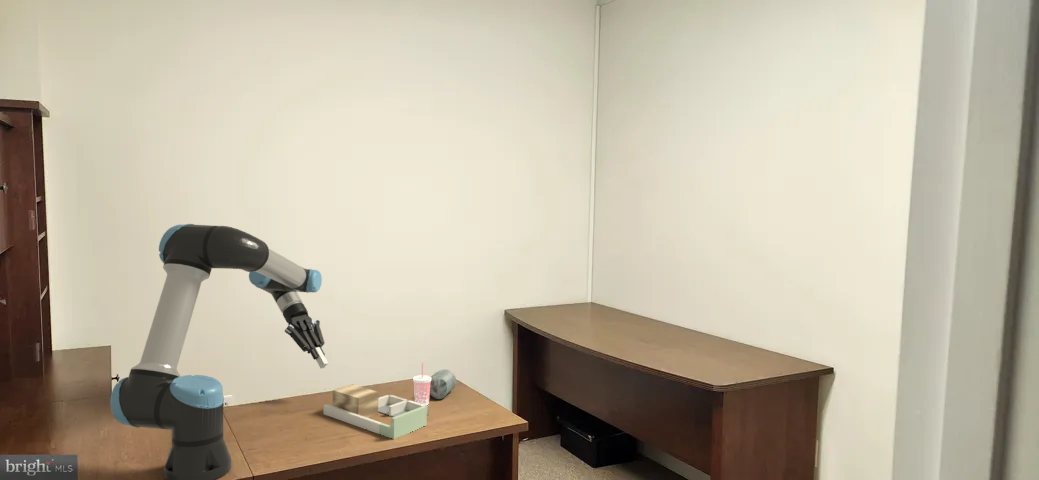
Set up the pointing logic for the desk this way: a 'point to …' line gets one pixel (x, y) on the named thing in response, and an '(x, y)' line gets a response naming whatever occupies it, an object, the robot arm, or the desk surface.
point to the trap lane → (402, 411)
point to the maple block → (356, 400)
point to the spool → (442, 383)
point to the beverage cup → (422, 388)
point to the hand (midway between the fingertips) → (324, 365)
